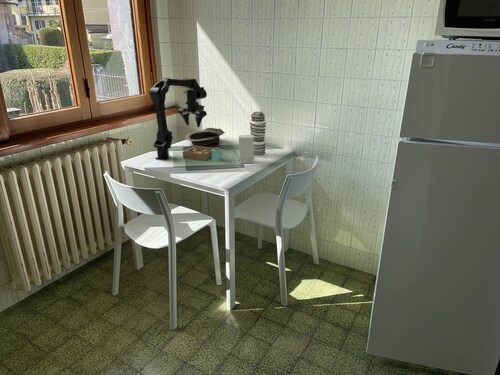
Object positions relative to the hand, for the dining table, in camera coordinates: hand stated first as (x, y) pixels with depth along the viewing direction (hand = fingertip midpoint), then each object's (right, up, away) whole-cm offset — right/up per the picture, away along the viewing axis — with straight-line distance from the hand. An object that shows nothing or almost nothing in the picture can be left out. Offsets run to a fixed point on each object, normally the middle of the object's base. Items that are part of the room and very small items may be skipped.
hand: (193, 126), depth 234 cm
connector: (+16, -22, -17) cm, 32 cm away
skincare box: (+33, -23, -20) cm, 45 cm away
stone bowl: (+5, -10, +13) cm, 17 cm away
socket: (+5, -19, -9) cm, 22 cm away
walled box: (+5, -19, -9) cm, 22 cm away
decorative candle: (+39, -18, -9) cm, 44 cm away
